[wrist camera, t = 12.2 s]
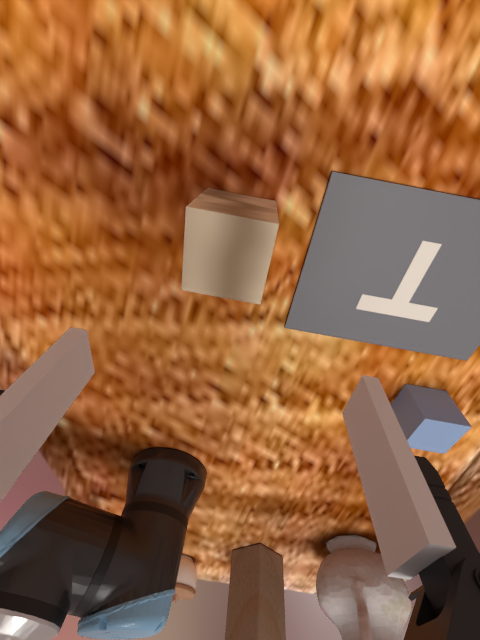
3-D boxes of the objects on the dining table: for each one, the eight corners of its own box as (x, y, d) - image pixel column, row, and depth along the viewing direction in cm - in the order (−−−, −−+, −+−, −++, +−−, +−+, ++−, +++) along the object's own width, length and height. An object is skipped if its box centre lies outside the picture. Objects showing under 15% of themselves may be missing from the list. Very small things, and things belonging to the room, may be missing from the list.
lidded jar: (190, 568, 88) (182, 610, 80) (159, 557, 86) (148, 600, 78) (206, 558, 83) (200, 603, 75) (174, 547, 80) (163, 592, 72)
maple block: (201, 254, 32) (181, 290, 25) (207, 187, 28) (185, 206, 21) (262, 265, 32) (260, 304, 25) (276, 200, 29) (279, 224, 21)
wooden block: (260, 542, 74) (258, 662, 57) (283, 556, 77) (287, 672, 61) (231, 549, 78) (221, 663, 61) (254, 562, 81) (251, 672, 65)
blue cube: (386, 410, 44) (402, 446, 39) (405, 383, 40) (425, 418, 35) (424, 417, 44) (444, 453, 39) (446, 390, 41) (471, 426, 36)
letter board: (284, 326, 37) (284, 328, 36) (331, 171, 27) (332, 171, 26) (465, 358, 37) (467, 360, 37) (576, 218, 27) (580, 219, 27)
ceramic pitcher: (295, 525, 69) (297, 692, 49) (377, 518, 61) (419, 715, 41) (332, 558, 78) (346, 709, 58) (407, 555, 70) (454, 731, 50)
